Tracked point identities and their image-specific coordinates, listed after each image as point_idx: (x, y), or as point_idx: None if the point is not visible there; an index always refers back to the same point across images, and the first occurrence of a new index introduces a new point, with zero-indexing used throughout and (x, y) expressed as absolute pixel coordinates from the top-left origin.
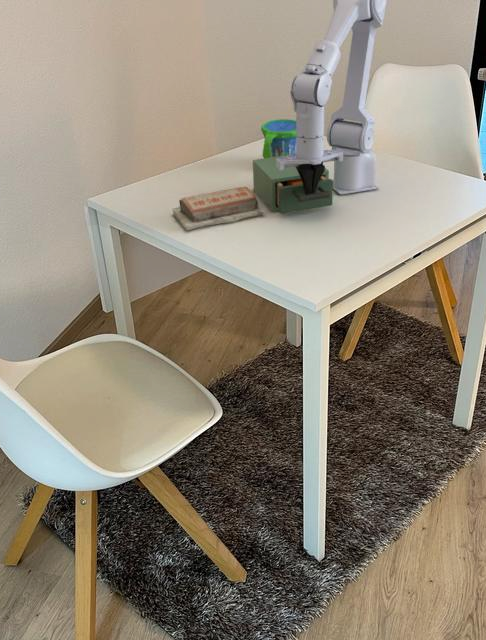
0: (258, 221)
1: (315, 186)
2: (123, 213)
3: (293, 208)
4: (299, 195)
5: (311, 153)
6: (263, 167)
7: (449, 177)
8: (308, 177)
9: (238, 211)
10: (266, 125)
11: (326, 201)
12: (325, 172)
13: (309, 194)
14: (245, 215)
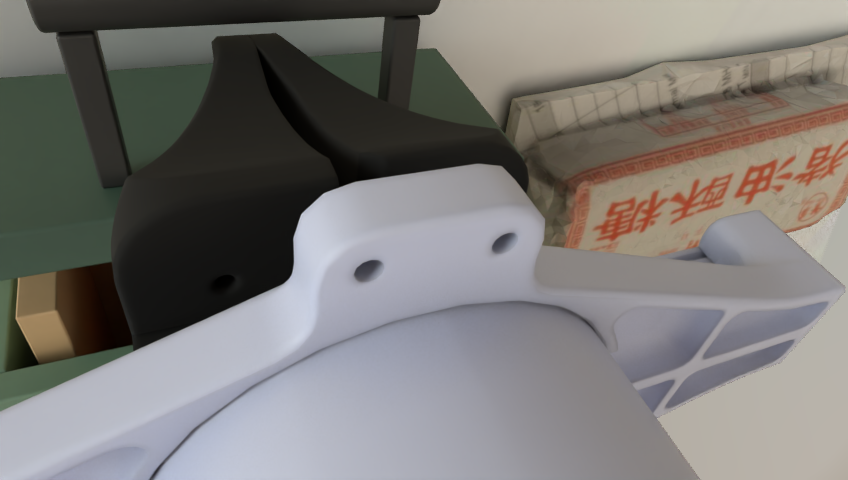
0: (560, 29)
1: (233, 81)
2: (825, 231)
3: (350, 67)
4: (402, 38)
5: (582, 428)
6: None
7: None
8: (394, 121)
9: (635, 122)
10: None
11: (27, 100)
12: (6, 390)
13: None
14: (614, 86)
